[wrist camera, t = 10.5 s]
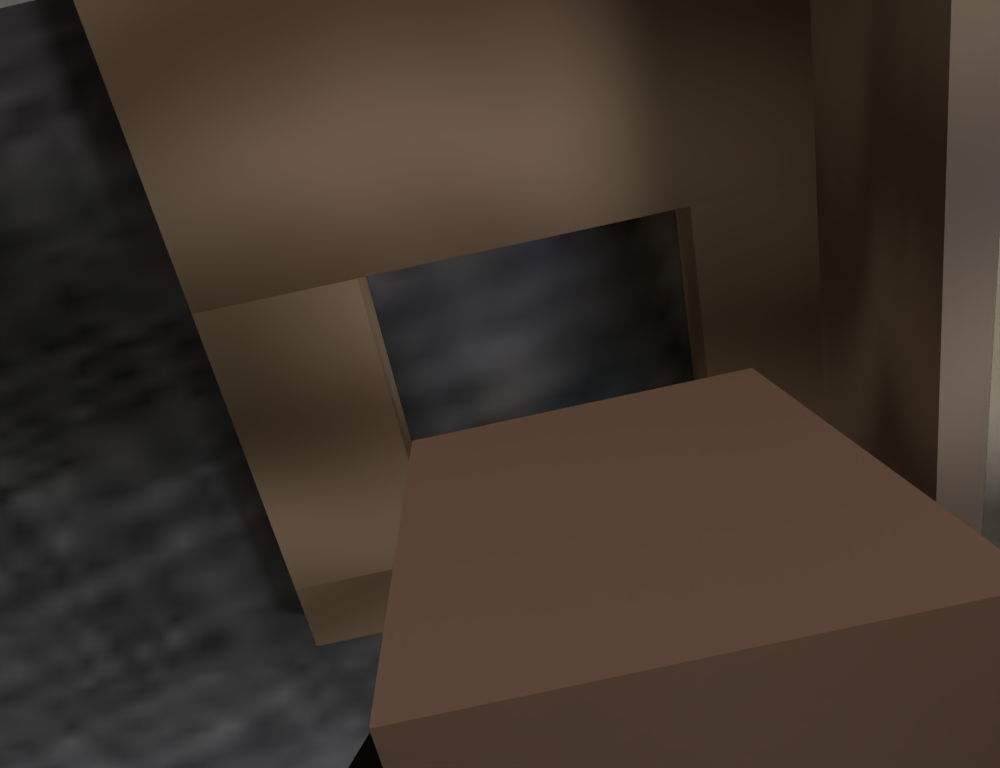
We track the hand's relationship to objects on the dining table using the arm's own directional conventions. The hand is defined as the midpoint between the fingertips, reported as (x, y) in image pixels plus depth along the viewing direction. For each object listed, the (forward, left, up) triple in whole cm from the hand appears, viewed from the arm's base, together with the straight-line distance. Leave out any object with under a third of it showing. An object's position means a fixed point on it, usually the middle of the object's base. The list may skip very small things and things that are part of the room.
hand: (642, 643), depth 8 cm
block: (0, 0, -2) cm, 2 cm away
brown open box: (+4, 0, -10) cm, 11 cm away
